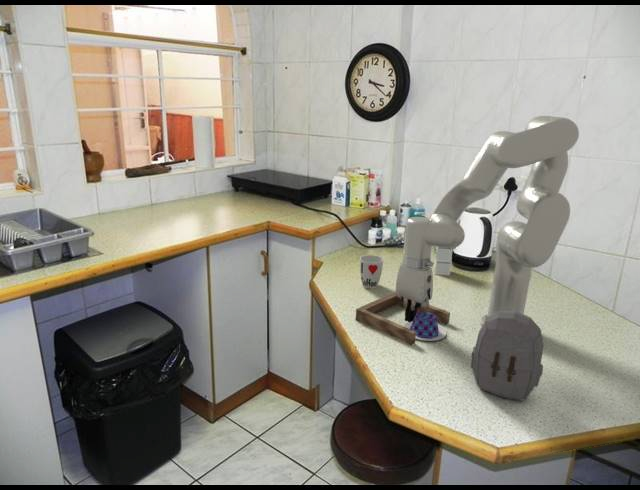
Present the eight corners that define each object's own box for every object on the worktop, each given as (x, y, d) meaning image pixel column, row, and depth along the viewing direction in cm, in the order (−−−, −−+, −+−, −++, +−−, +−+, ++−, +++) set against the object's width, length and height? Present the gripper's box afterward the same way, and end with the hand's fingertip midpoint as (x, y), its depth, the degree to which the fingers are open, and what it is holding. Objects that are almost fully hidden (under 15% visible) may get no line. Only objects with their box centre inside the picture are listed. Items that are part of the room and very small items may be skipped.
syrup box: (450, 276, 175) (454, 239, 170) (434, 274, 176) (438, 237, 171) (449, 270, 180) (453, 234, 176) (433, 269, 181) (437, 233, 177)
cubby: (448, 323, 138) (450, 312, 137) (411, 345, 125) (412, 333, 124) (394, 301, 151) (395, 291, 150) (355, 319, 138) (356, 308, 137)
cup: (354, 286, 162) (356, 260, 159) (363, 279, 169) (365, 253, 166) (376, 291, 159) (378, 264, 156) (384, 284, 165) (386, 257, 162)
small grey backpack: (538, 394, 106) (554, 315, 100) (533, 414, 99) (550, 330, 93) (471, 373, 113) (482, 298, 107) (462, 391, 106) (473, 312, 100)
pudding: (434, 347, 125) (436, 330, 123) (395, 333, 132) (396, 316, 130) (453, 331, 134) (455, 315, 132) (415, 318, 141) (417, 303, 139)
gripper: (446, 265, 128) (439, 325, 133) (402, 251, 138) (397, 307, 143) (431, 271, 123) (424, 333, 128) (386, 257, 133) (382, 315, 138)
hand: (410, 320), depth 136 cm, fingers closed
